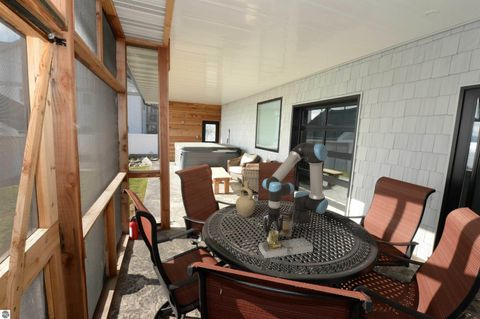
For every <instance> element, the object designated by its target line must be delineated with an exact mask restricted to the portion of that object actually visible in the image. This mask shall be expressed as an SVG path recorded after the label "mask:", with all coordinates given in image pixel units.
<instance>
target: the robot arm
mask: <svg viewBox="0 0 480 319" xmlns="http://www.w3.org/2000/svg"><path fill="white" fill-rule="evenodd" d="M327 148H328V147H326V146H325V145H324V144H322V143H318V142H317V143H316V142H315V143H314V142H302V143H299V144H298V145H296V146H295V147H294V148H292V150H291V151H290V152H289V155H288V157H286V158H285V160H284V161H283V162H282V163H281V164H280V165H279V167H278V168H277V169H276V170H275V171H274V173H273V174H272V175H271V176H270V178H265V179H264V180H263V181H262V188H263V189H265V190H267V191H268V201H267V202H268V206H267V215H263V231H264V232H265V233H266V235H265V237H266V242H269V241H270V232H269V231H271V228H272V224H273V223H275V227H276V228H275V232H276V233H277V234H278V237H279V236H280V235H279V233H280V230H283V218H284V216H283V215H282V214H281V215H280V211H281V198H282V197H284V196H289V195H292V194H293V193H294V191H295V186H294V184H293V183H291V182H283V179H285V177H287V175H288V174H289V173H290V172H291V170H293V168H294V167H295V165H296V164H297V163H298V162H299V161H301V160H302V159H307V164H309V180H310V181H309V182H310V192H309V191H297V192H295V195H294V203H293V204H294V206H293V211H292V212H293V221H294V222H296V223H300V224H301V223H302V224H303V223H304V224H305V223H309V222H310V221H311V215H310V212H312V213H313V212H314V213H316V214H319V215H321V214H325V212H326V211H327V210H328V207H329V206H328V205H329V200H328V199H325V197H326V196H325V194H324V193H323V164H324V162H325V161H326V160H327V158H328V149H327ZM309 211H310V212H309ZM279 217H280V221H279Z"/></svg>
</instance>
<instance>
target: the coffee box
mask: <svg viewBox="0 0 480 319" xmlns="http://www.w3.org/2000/svg"><path fill="white" fill-rule="evenodd" d="M281 214H282V215H283V216H284V218H283V230H280V233H279V236H282V237H286V238H291V237H292V232H293V221H294V220H293V211H289V210H288V211H287V210H283V209H280V215H281ZM278 221H280V217H279V218H278Z"/></svg>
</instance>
